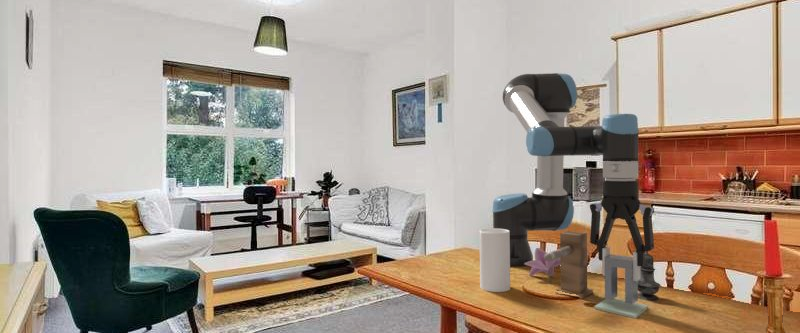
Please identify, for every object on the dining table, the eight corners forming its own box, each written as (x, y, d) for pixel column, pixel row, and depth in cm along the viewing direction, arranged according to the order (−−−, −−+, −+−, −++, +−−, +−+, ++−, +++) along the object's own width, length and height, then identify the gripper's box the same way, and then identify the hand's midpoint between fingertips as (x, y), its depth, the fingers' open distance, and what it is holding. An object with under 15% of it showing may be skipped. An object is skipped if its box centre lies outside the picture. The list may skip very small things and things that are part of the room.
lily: (575, 283, 126) (566, 251, 130) (567, 276, 117) (557, 242, 121) (535, 291, 131) (527, 260, 135) (524, 285, 122) (517, 252, 126)
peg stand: (566, 287, 118) (566, 229, 118) (592, 292, 113) (592, 232, 113) (533, 304, 105) (532, 239, 105) (560, 311, 100) (560, 243, 100)
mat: (608, 299, 108) (608, 297, 108) (648, 308, 101) (648, 305, 101) (594, 308, 101) (594, 306, 101) (635, 318, 95) (635, 315, 95)
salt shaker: (651, 302, 105) (651, 254, 105) (629, 296, 110) (628, 249, 110) (665, 298, 108) (665, 251, 107) (643, 292, 113) (642, 247, 113)
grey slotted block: (610, 294, 105) (610, 254, 104) (637, 300, 100) (637, 257, 100) (604, 298, 102) (604, 257, 102) (632, 304, 98) (631, 260, 97)
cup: (476, 289, 117) (475, 231, 117) (484, 282, 125) (484, 227, 124) (506, 293, 113) (505, 234, 113) (513, 285, 121) (512, 229, 120)
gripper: (573, 179, 105) (574, 272, 105) (661, 181, 91) (662, 288, 92) (586, 178, 110) (586, 267, 110) (670, 179, 97) (671, 281, 97)
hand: (621, 276), depth 101 cm, fingers closed on grey slotted block, 6 cm apart
